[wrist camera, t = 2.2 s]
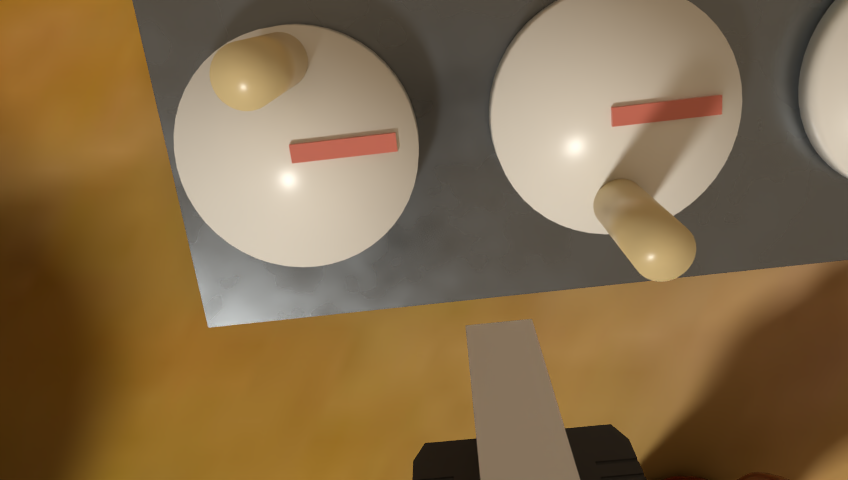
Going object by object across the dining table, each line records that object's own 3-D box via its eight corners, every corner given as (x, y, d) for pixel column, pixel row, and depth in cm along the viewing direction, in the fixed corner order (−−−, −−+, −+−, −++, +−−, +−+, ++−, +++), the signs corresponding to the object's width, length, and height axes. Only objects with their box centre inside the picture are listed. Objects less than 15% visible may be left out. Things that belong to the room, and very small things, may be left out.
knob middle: (498, 233, 30) (519, 302, 23) (478, 0, 27) (495, 2, 20) (723, 209, 30) (811, 271, 23) (727, -30, 27) (829, -39, 20)
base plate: (215, 316, 33) (199, 340, 30) (135, -38, 28) (109, -41, 26) (1011, 231, 31) (1057, 249, 29) (1068, -156, 27) (1130, -171, 24)
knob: (213, 264, 30) (153, 341, 24) (163, 39, 27) (78, 52, 21) (431, 240, 30) (433, 311, 23) (403, 9, 27) (396, 14, 20)
